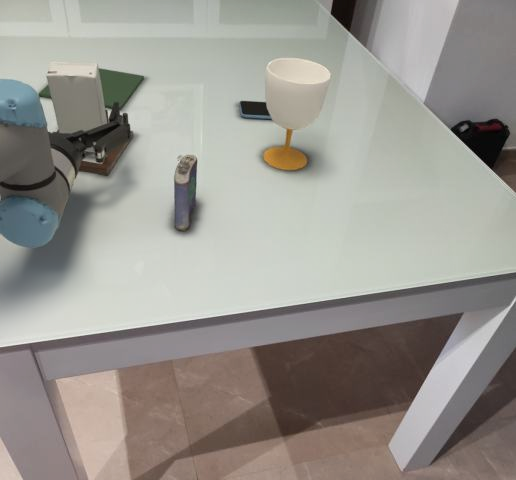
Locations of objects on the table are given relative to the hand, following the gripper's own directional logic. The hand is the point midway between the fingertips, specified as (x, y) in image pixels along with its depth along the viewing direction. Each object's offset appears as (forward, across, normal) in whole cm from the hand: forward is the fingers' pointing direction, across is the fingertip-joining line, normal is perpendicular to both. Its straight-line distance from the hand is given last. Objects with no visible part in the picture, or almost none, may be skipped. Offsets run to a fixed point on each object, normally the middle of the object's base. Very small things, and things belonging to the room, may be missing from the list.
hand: (78, 106), depth 91 cm
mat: (+30, -4, -9) cm, 31 cm away
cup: (+4, +39, -9) cm, 40 cm away
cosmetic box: (+2, 0, -9) cm, 9 cm away
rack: (+2, 0, -9) cm, 9 cm away
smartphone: (+25, +37, -9) cm, 46 cm away
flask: (-18, +20, -9) cm, 28 cm away
